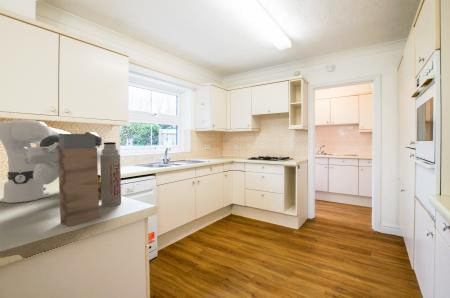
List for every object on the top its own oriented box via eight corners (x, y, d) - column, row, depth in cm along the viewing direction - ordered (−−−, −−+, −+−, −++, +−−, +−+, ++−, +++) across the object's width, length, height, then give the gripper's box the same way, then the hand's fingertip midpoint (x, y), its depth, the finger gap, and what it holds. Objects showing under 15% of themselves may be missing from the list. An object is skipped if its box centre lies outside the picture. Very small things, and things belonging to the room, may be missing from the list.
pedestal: (60, 223, 77) (57, 148, 76) (90, 214, 85) (88, 147, 84) (68, 226, 73) (65, 148, 72) (99, 217, 82) (97, 147, 81)
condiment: (103, 200, 106) (102, 175, 106) (82, 203, 102) (82, 177, 101) (102, 197, 113) (101, 173, 112) (82, 199, 108) (81, 175, 108)
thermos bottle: (124, 203, 100) (122, 142, 99) (105, 207, 95) (103, 142, 94) (117, 200, 106) (115, 142, 105) (98, 203, 100) (97, 142, 99)
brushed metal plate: (48, 148, 80) (47, 134, 80) (78, 147, 88) (78, 134, 88) (64, 148, 73) (63, 133, 73) (95, 147, 81) (95, 134, 81)
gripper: (19, 155, 81) (31, 136, 74) (80, 153, 98) (94, 137, 91) (23, 171, 79) (35, 152, 73) (84, 165, 97) (98, 150, 90)
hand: (68, 144), depth 82 cm, fingers open, 5 cm apart
